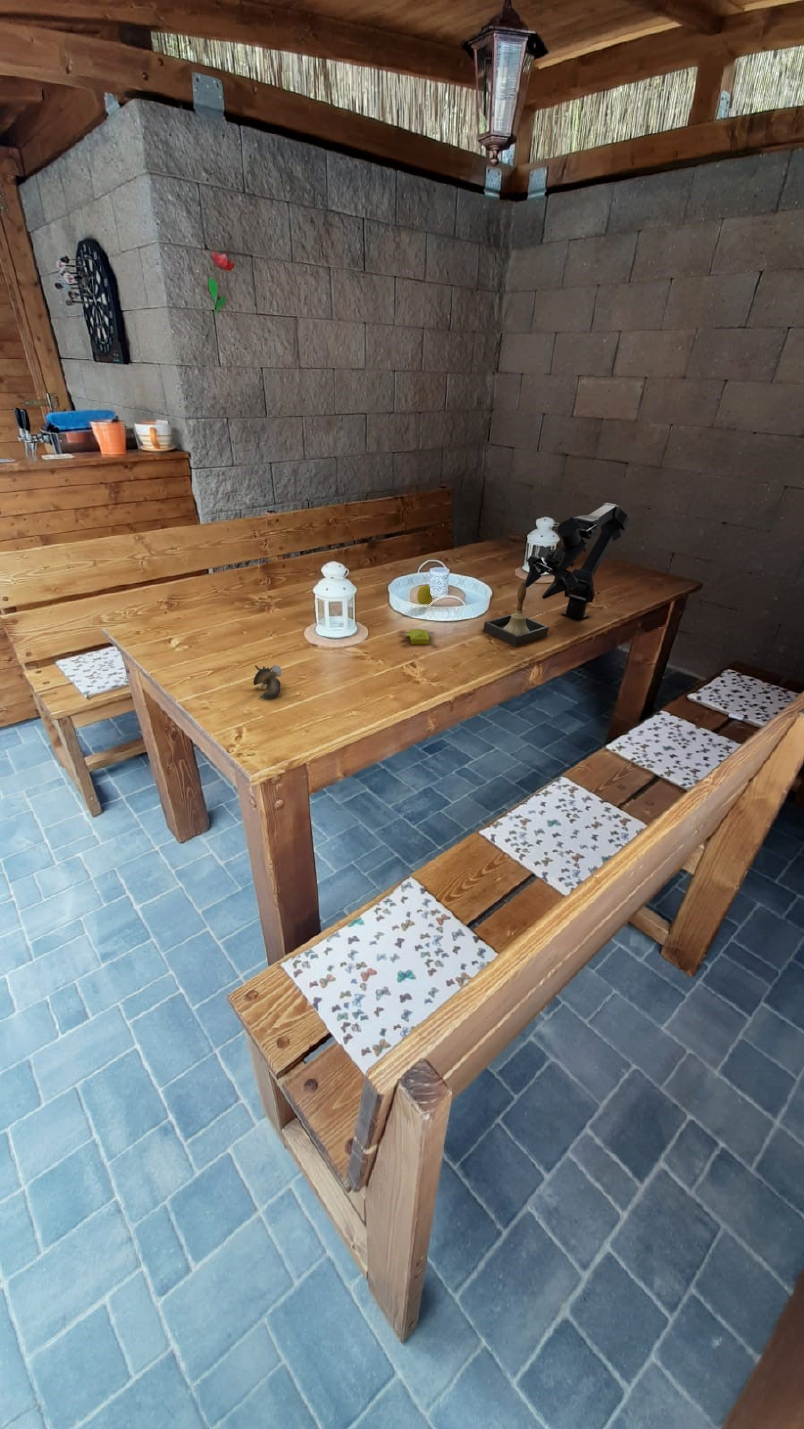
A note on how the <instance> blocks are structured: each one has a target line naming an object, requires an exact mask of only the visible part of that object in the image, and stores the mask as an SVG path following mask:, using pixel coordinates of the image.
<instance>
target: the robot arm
mask: <svg viewBox="0 0 804 1429" xmlns="http://www.w3.org/2000/svg"><path fill="white" fill-rule="evenodd" d="M629 526H630V519H629V516H628V513H626V512H625V511H623V510H622V509H621V507H620V505H618V504H615V503H610V502H604V503H603V504H602V505H601V507H599V508H598V509H595V510H594V511H593V512H591V513H589V514H585V515H584V514H581V515H578V516H576V517H574V516H570V517H569V518H568V519H566V520H564V521H562V522H560V523H559V524H558V526H557V529H556V530H557V534H558V536H559V540H560V542H561V544H562V546H561V547H559V548H554V549H551V548H549V547H547V546H544V545H541V547H540V548H539V550H538V553H537V554H536V555H535V554H534V555H533V554H532V555H530V556H529V557H528V558H527V559H526V562H527V566H528V572H527V576H526V577H525V581H524V582H526V589H528V588H529V587H531V586H532V585H533V584H534V583H535V582H537V581H538V580H539V579H541V578H542V576H543V575H544V574H545V573H546V574H549V575H551V576H554V578H553V581H552V583H551V584H550V585H549V587H548V588H547V589H546V590H545V592H544V593H543V594H542V596H541V598H542V599H543V600H545V599H548V598H550V597H552V596H554V595H557V594H559V593H563V592H564V598H568V603H567V605H566V610H565V611H563V612H561V615H562V616H565V617H568V618H570V619H572V620H574V621H579V620H582V619H586V618H589V614H586V610H587V606H588V604H589V603H590V604H591V603H593V602H594V599H595V596H596V591H595V589H594V586H595V582H594V581H595V580H594V577H595V574H596V573H597V571H598V569H599V567H600V566H601V564H602V562H603V560H604V558H605V556H606V554H607V553H608V551H609V549H610V547H611V546H612V545H613V542H614V541H616V540H618V539H620V538H621V537H622V536H623V534H624V533H625V532H626V531H627V530H628V529H629ZM599 528H600V534H599V536H598V538H597V539H596V540H595V542H594V544H593V546H592V548H591V550H590V552H589V553H588V555H587V557H586V559H585V560H584V562H583V564H582V566H581V568H579V569H578V568H574V569H573V570H572V571H570V570H568V568H570V567H571V568H573V567H574V566H575V563H574V562H575V561H576V560H577V558H578V557H579V556H580V555H581V554H582V553H586V552H587V549H588V548H587V547H588V546H587V545H588V543H587V542H585V540H584V539H587V540H592V539H594V538H595V536H597V534H598V532H599ZM542 558H543V559H542Z"/></svg>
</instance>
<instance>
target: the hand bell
mask: <svg viewBox="0 0 804 1429" xmlns="http://www.w3.org/2000/svg"><path fill="white" fill-rule="evenodd" d="M516 593H517V606H516V612H513V613H511V614H512V615H511V619H510V621H509V623H508V625H507V626H505V627H504V628H503V629H504V630H506V631H508V632H510V633H513V634H515V635H520V634H523V633H526V632H530V631H529V629H528V628H527V626H526V617H527V616H526V614H524V613H523V607H524V606H523V605H524V601H525V599H526V596H527V588H526V582H525V581H521V582H520V584H519V587H518V589H517V592H516Z"/></svg>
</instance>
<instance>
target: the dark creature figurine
mask: <svg viewBox="0 0 804 1429" xmlns="http://www.w3.org/2000/svg"><path fill="white" fill-rule="evenodd" d="M254 668H255V669H256V670H257V672H256V673H255V675H254V677H253V681H252V684H253V685H254V686H257V685H259V686H258V690H261V689H263V688H264V687H265V690H264V691H263V693H262V695H261V696H262V698H263V699H266V700H271V699H274V698H276V697H279V695H280V694H281V685H282V684H281V681H280V679H278V677H279V678H280V677H282V673H283V672H282V671H283V670H282V667H281V666H279V665H278V664H273V665H272V666H271V667H270V668H269V666H268V667H267V668H266V666H264V665H263V667H262V668H259V666H258V665H254Z"/></svg>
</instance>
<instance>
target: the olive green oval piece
mask: <svg viewBox="0 0 804 1429" xmlns="http://www.w3.org/2000/svg"><path fill="white" fill-rule="evenodd" d="M430 587H431V586H430V585H428V584H424V585H422V586H420V587H419V589H418V590H417V594H416V600H417V602H418V604H419V603H420V604H430V603H431V602H432V599H433V600H434V598H432V596H431V594H430ZM432 603H433V602H432ZM432 603H431V604H432ZM420 604H419V605H420ZM431 604H430V605H431Z"/></svg>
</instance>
